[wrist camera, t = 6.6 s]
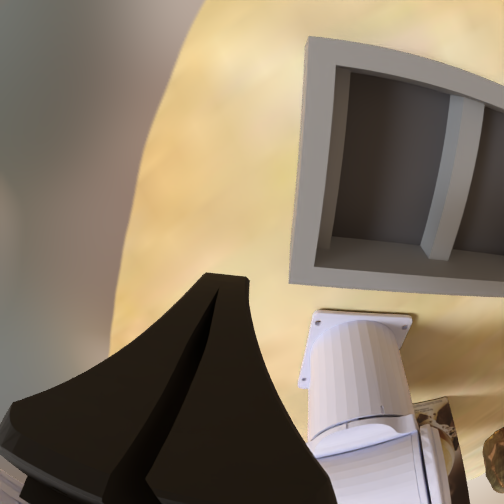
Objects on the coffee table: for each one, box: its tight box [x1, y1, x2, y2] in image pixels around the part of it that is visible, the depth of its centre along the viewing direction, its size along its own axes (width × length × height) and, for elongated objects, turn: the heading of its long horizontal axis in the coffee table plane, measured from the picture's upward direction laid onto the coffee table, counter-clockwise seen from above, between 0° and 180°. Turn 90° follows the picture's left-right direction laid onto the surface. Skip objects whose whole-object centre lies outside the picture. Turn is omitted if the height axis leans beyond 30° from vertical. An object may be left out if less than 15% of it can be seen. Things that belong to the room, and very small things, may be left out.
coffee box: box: [413, 397, 470, 504], centre depth 23 cm, size 9×6×16 cm
